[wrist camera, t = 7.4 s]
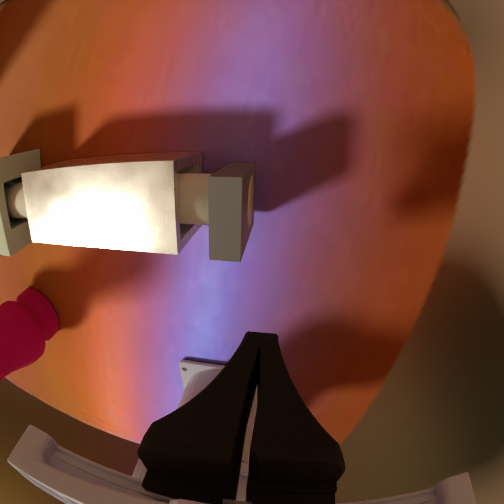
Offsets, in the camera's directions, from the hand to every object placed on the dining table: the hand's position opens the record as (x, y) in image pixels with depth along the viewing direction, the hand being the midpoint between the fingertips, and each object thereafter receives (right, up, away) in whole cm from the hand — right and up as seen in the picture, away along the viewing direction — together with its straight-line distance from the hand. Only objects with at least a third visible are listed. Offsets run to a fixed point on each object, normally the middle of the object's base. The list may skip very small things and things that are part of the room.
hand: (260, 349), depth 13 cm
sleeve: (-10, +9, +7) cm, 15 cm away
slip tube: (-12, +9, +7) cm, 16 cm away
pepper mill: (-25, -2, +15) cm, 29 cm away
